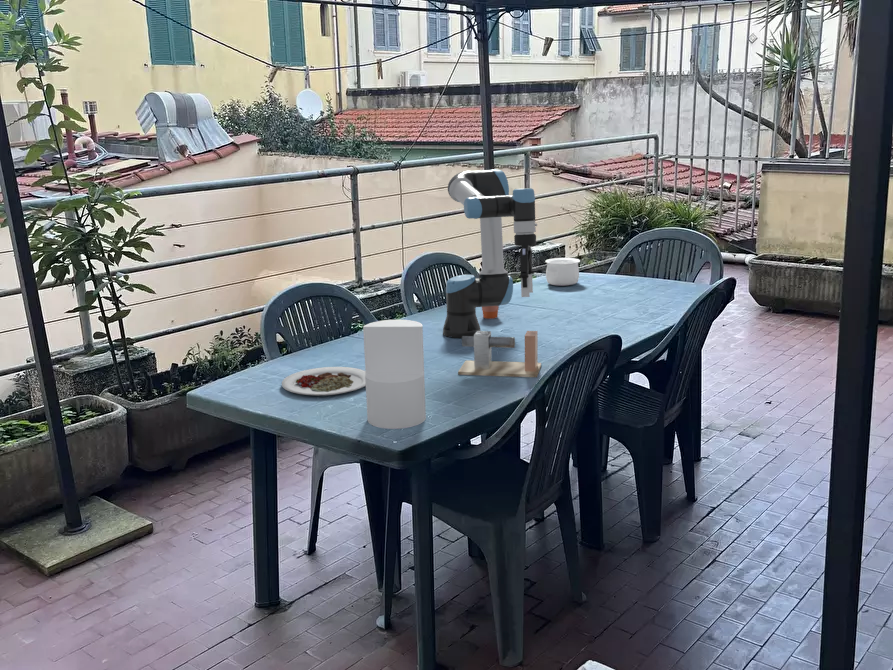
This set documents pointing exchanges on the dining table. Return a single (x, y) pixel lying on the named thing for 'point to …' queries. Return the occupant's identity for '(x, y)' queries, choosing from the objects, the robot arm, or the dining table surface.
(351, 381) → the plated food
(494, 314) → the cup with straw
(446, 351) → the dining table surface
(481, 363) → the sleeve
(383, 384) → the cylinder
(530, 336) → the tan upright block
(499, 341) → the rod
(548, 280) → the pot
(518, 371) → the base board
